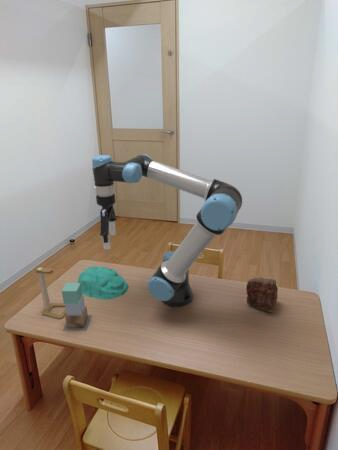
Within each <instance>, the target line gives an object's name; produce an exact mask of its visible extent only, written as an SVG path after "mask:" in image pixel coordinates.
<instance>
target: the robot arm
mask: <svg viewBox="0 0 338 450" xmlns="http://www.w3.org/2000/svg"><path fill="white" fill-rule="evenodd" d="M91 160H92V161H91V164H92V168H91V169H92V173H93V180H94V187H93V189H94V191H95V194H96V196H95V197H96V198H95V200H96V204H97V205H98V206H100V207H101V210H100V211H99V212H100V214H99V215H100V233H99V236H101V237H102V238H101V239H102V244H103V250H111V249H112V248H111V238H110V236H117V230H116V221H117V217H116V213H115V208H114V204H116V195H115V191H116V190H115V183H114V182H118V183H127V184H138V183H139V182H141V179H142V177H145V178H148V179H151V180H153V181H156V182H159V183H161V184H164V185H167V186H168V187H169V186H170V187H172V188H175V189H177V190H180V191H183V192H185V193H187V194H188V193H189V194H191V195H193V196H197V197H199V198H202V199H204V202H203V204H202V207H201V209H200V210H199V211H198V213H196V216H195V218H196V222H195V223H194V225H193V226H192V228H191V229H190V230H189V231H188V233H187V235H186V236H185V237H184V239H183V240H182V241H181V243H180V244H179V246H178V247H177V248H176V249H175V250H170V251H166V252H165V253H164V254H162V262H161V263H160V265H159V266H158V268H157V269H156V271H155V272H154V273H153V275H152V276H151V277H149V279H148V281H147V289H148V291H149V294H150V295H151V296H152V297H153V298H154V299H156V300H157V301H161V302H162V303H164V304H165V305H167V306H169V307H183V306H185V305H188V304H190V303H191V302H192V299H193V291H192V288H191V286H190V283H189V282H190V281H189V280H190V279H189V277H190V268H191V267H192V266H193V265H194V264H195V261H197V259H199V256H201V255H202V253H203V251H205V250H206V248H207V247H208V246H209V244H210V243H211V242H212V241H213V239H214V238H215V236H221V235H223V233H225V231H226V229H228V228H229V227H230V226H232V224H233V223H234V221H235V220H236V218H237V216H238V213H239V211H240V209H241V208H242V204H243V196H242V194H241V192H240V191H239V190H238V189H237V187H235V186H234V185H232V184H229V183H227V182H224V181H221V180H219V179H215V178H213V179H207V178H204V177H201V176H198V175H196V174H194V173H190V172H187V171H184V170H183V169H182V170H181V169H179V168H176V167H173V166H171V165H167V164H165V163H162V162H158V161H156V160H153V159H152V158H151V156H149V155H148V154H146V153H144V154H143V153H142V154H139V155H137V156H135V157H134V156H133V158H130V159H128V160H125V161H121V162H120V161H113V159H112V156H111V155H108V154H99V155H96V156H93V158H92V159H91Z"/></svg>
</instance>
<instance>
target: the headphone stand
mask: <svg viewBox="0 0 338 450" xmlns="http://www.w3.org/2000/svg"><path fill="white" fill-rule="evenodd" d="M53 271H54V270H53V268H52V267H51V268H47V267H42V266H38V267H37V268H36V269H35V273H36V274H37V276H38V281H39V286H40V292H41V299H42V302H43V310H42V311H41V315H42V316H45V317H48V318H51V319H56V320H63V319H64V318H65V316H66V308H65V304H64V302H63V303H62V302H61V303H59V302H57V303H52V302H51V301H50V297H49V293H48V287H47V283H46V279H45V274H46V275H51V274H53ZM53 308H64V309H63V311H62V312H61V313H60V314H57V313H53V312H51V310H53Z"/></svg>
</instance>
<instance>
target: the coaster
mask: <svg viewBox="0 0 338 450" xmlns="http://www.w3.org/2000/svg"><path fill="white" fill-rule="evenodd" d="M92 317H93V314H88V319H87V321H86V324H85V327H84V328H67V324H66V323H64V324H65V325H64V327H63V329H62V331H63V332H64V331H65V332H74V331H75V332H76V331H77V332H78V331H79V332H80V331H81V332H87V330H88V329H89V328H88V327H89V325H90V322H91V320H92Z"/></svg>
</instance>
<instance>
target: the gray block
mask: <svg viewBox="0 0 338 450" xmlns="http://www.w3.org/2000/svg"><path fill="white" fill-rule="evenodd" d="M84 298H85V297H84V295H82V297H81V299H80V301H79V304H65V307H64V309H65V308H66V314H67V316H81V315H82V313H83V310H84V308H85V306H86V305H85V304H86V303H85V299H84Z"/></svg>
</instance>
